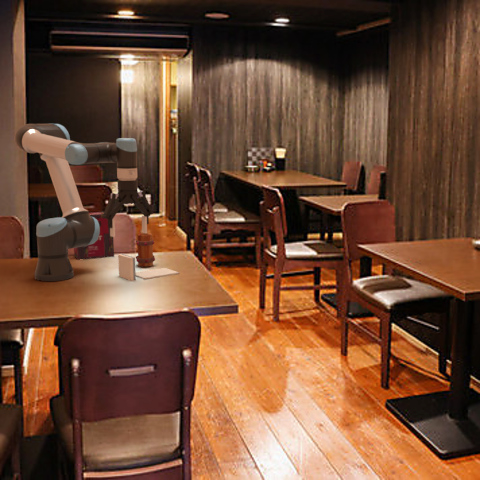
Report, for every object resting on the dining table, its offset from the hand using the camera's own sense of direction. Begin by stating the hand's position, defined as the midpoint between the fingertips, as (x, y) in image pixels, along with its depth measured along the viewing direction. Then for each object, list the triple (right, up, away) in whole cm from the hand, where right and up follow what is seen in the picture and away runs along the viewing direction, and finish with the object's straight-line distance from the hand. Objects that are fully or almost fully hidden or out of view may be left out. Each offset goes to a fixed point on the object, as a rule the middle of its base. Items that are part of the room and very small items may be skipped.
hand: (128, 234), depth 255 cm
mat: (+8, -16, +16) cm, 24 cm away
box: (-25, -10, +52) cm, 59 cm away
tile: (-2, -17, +10) cm, 20 cm away
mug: (+1, -13, +34) cm, 36 cm away
